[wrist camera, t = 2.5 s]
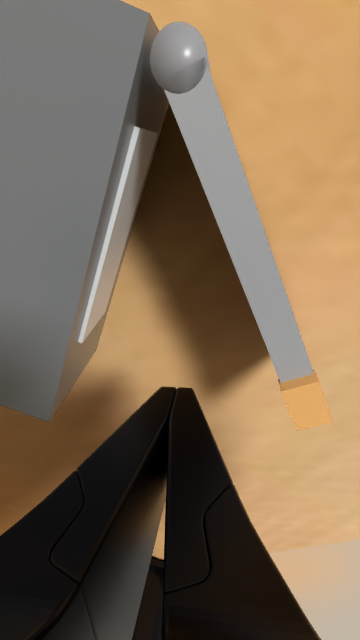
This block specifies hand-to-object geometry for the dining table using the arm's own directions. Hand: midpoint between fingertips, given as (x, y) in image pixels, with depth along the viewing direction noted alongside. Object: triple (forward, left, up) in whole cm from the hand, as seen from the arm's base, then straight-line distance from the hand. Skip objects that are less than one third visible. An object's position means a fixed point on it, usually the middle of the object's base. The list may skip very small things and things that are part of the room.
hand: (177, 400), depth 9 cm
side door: (-1, -4, -6) cm, 7 cm away
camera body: (+8, -2, -7) cm, 10 cm away
